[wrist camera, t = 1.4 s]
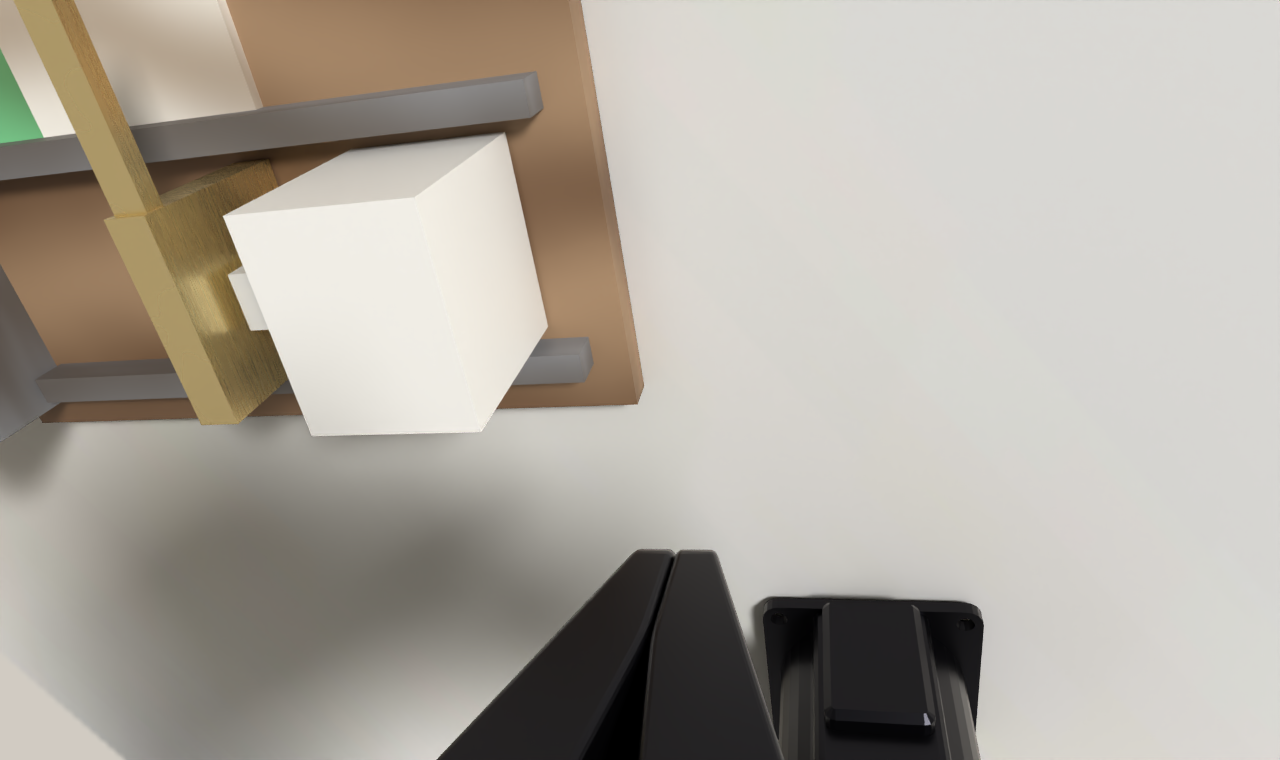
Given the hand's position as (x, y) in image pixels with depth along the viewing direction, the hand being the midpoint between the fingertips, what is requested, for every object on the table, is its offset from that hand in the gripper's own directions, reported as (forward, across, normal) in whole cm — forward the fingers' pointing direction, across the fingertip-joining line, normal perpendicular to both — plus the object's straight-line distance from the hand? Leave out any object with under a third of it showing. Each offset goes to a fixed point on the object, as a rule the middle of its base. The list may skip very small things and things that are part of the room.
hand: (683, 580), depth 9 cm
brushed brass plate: (+12, +12, -2) cm, 17 cm away
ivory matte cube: (+12, +8, 0) cm, 15 cm away
